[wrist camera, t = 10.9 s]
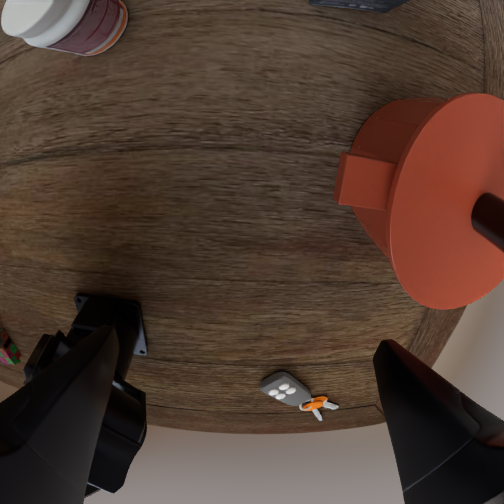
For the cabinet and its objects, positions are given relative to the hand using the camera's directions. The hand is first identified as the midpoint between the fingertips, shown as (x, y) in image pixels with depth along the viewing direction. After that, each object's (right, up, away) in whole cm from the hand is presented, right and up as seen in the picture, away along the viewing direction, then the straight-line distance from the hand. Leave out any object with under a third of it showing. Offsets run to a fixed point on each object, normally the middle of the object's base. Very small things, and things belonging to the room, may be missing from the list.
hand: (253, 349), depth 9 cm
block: (-33, -9, +18) cm, 38 cm away
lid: (+13, +5, +4) cm, 14 cm away
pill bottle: (-11, +19, +5) cm, 22 cm away
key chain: (+6, -14, +22) cm, 27 cm away
